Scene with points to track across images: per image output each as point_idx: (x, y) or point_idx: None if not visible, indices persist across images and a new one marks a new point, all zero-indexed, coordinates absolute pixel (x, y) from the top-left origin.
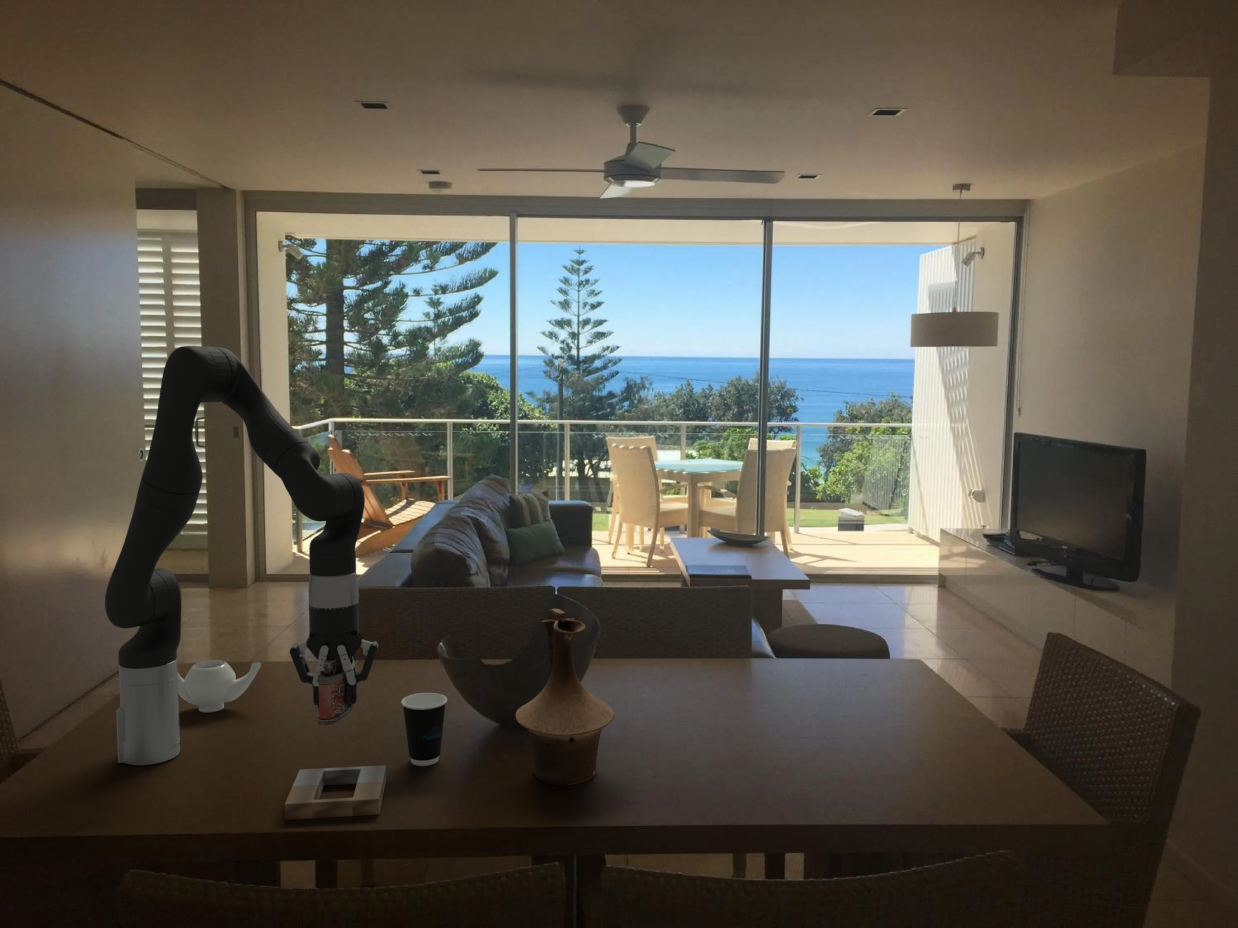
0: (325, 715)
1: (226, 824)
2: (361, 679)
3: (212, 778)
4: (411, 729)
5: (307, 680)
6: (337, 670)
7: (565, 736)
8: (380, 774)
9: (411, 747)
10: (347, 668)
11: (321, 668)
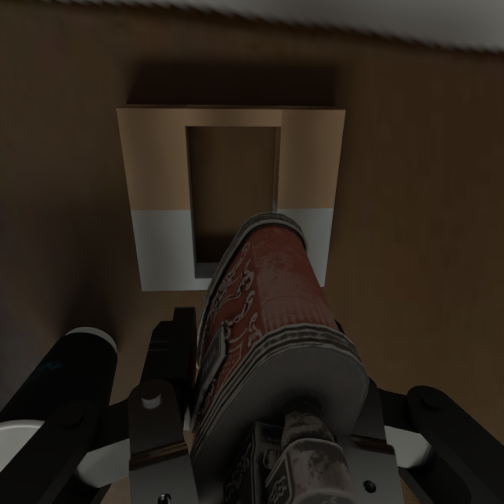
0: (277, 232)
1: (454, 100)
2: (91, 405)
3: (471, 306)
4: (83, 383)
5: (410, 396)
6: (241, 463)
7: None
8: (144, 247)
9: (100, 355)
10: (160, 465)
11: (354, 461)
